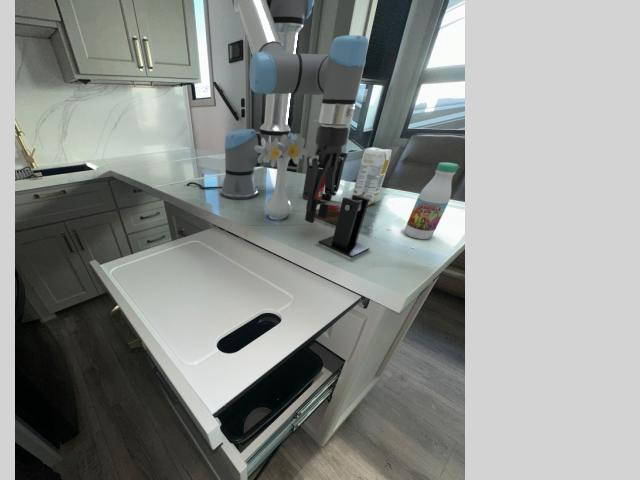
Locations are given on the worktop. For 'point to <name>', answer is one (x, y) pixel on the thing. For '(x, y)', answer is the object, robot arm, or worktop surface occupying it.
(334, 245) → the bracket
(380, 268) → the worktop surface
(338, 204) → the lever
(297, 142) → the flower vase
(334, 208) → the button
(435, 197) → the milk bottle
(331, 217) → the control block
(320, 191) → the canned food
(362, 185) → the juice carton
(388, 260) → the worktop surface
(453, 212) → the worktop surface
